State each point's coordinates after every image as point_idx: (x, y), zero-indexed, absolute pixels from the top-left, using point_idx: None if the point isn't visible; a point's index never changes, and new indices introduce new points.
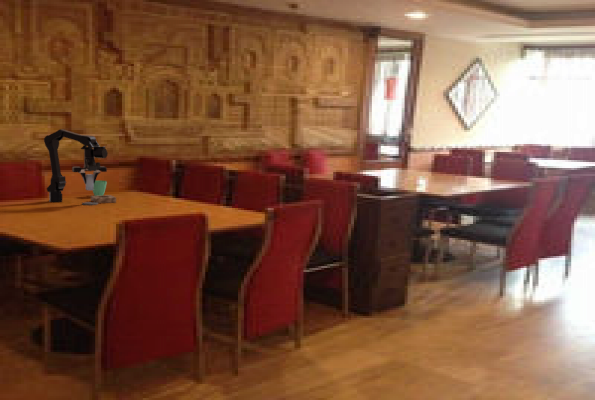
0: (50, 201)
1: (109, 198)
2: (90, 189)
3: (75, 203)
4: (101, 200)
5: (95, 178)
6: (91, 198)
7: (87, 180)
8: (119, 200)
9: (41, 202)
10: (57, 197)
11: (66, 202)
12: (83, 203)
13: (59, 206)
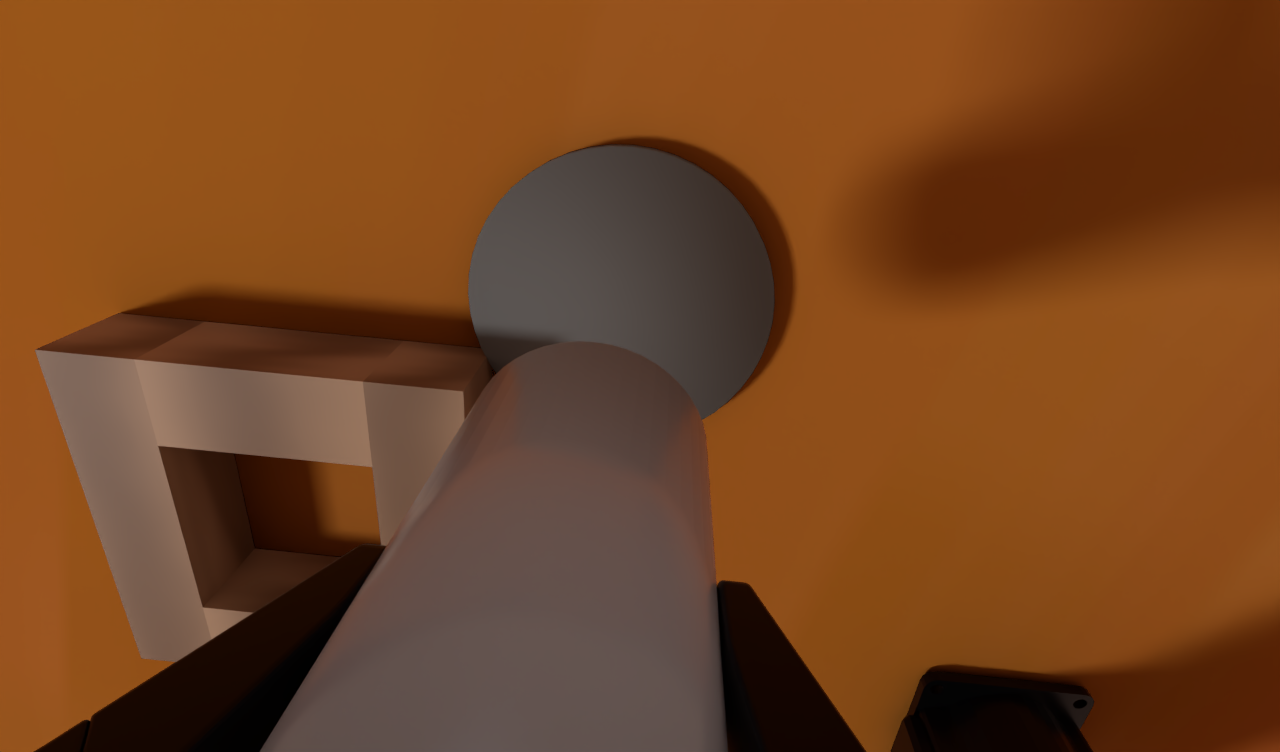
0: (1085, 713)
1: (185, 358)
2: (596, 351)
3: (813, 481)
4: (367, 359)
5: (130, 723)
6: None
7: (684, 649)
8: (59, 508)
9: (1186, 734)
10: (1019, 748)
11: (886, 618)
12: (748, 314)
13: (1267, 249)
